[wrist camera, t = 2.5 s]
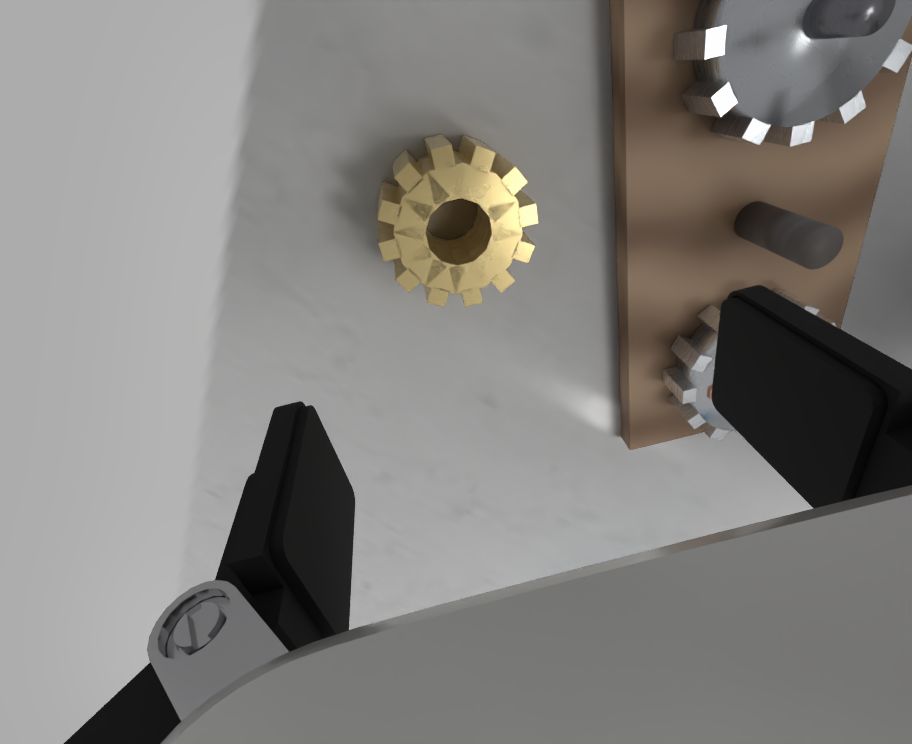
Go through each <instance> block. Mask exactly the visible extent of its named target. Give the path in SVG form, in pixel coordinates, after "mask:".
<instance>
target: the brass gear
mask: <svg viewBox="0 0 912 744" xmlns="http://www.w3.org/2000/svg"><path fill="white" fill-rule="evenodd" d="M424 140H425V145H426V149H427V154H428V156H425V157H421V158H420V159H419V160H418V161H417V162H416V161H415V159H414V158H413V157H412V156H411V155H410V154H409V153H408V152H407V150H406V149H405V150H404V151H403V152H402V153H401V154H400V155H399V157H398V158H397V159H396V160H395V161H394V162H393V172H394V179H395V180H396V181H397V182H398V183H399V184H398V186H395V185H392V184H388V183H385V182H382V186H381V190H380V194H379V199H378V219H377V220H379V234H378V244H379V247H380V251H381V254H382V257H383V261H384V262H385V261H389V260H393V259H394V263H395V280H396V281H397V282H398V283H399V284H400V285H401V286H402V287H403V288H404V289H405V290H406V291H407V292H410V291H411V290H412V289H413V288H414V287H416V286H417V285H418V284H419V283H420V282H421V283H422V284H424V288H425V293H426V299H427V303H431V304H435V305H439V306H443V307H445V304H446V301H447V298H448V295H449V292H450V293H453V294H458V293H461V296H462V299H463V302H464V305H465V307H467V306H471V305H475V304H479V303H483V302H482V297H481V291H480V288H482V287H486V286H487V285H488V284H490V283H491V282H492V283H493V284H494V285H495V286H496V288H497V289H498V290H499V291H500V292H501V293H502V292H503V291H504V290H505V289H506V288H508V287H509V286H510V285H511V284H512V283H513V282H514V281H515V279H514V278H513V276H512V275H511V273H510V271H509V270H508V267H509V266H510V265H511V263H512V260H513V259H516V260H519V261H523V262H526V263H528V262H529V259H530V257H531V255H532V252H533V250H534V247H535V245H534V243H533V242H532V241H531V240H530V239H529V238H528V236H527V235H526V234H525V233H524V232H523V231H522V227H525V226H529V225H533V224H537V223H538V216H537V207H536V203H535V202H534V201H532V200H531V199H530V198H529V197H528V196H527V195H526V194H525V193H523V192H522V191H521V190H520V189H521V188H522V187H523V186H524V185H525V184H526V183H527V181H526V180H525V178H524V177H523V176H522V174H521V173H520V172H519V171H518V169H517V168H516V167H515V166H514V165H513V164H511V163H510V162H509V161H507V160H506V159H505V158H503V157H502V156H501V155H499V154H498V153H496V152H495V151H493V150H492V149H491V148H489V147H488V146H487V145H485V144H484V143H483V142H481V141H479V140H477V139H474V138H471V137H468V136H465V135H463V137H462V140H461V144H460V147H459V150H458V152H457V151H454V150H453V149H452V144H451V143H450V142H449V141H448V140H447V139H446V138H445V137H444V136H443V134H439V135H435V136H431V137H427V138H424ZM459 198H463V199H466V200H469V201H472V202H475V203H476V204H477V209H478V214H477V217H476V220H475V223H474V226H473V227H472V228H471V229H470V230H469V231H468V232H467V233H466V234H465V235H464V236H463V237H460V238H456V239H452V240H444V239H441V238H437V237H434V236H433V235H432V234H431V233H430V232H429V231H428V230H427V229H426V228H427V225H428V222H429V218H430V215H431V214H432V213H433V212H434V211H435V210H436V209H437V208H438V207H439V206H440V205H441V204H442V203H443V202H447V201H451V200H455V199H459Z"/></svg>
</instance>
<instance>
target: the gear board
mask: <svg viewBox="0 0 912 744" xmlns="http://www.w3.org/2000/svg"><path fill="white" fill-rule="evenodd" d="M699 2H700V0H610V21H611V59H612V97H613V135H614V174H615V212H616V250H617V288H618V327H619V365H620V403H621V437H622V439H623V440H624V442H625V443H626V445H627V446H628V448H629V449H630V450H633V449H637V448H641V447H645V446H649V445H653V444H657V443H661V442H666V441H670V440H674V439H678V438H682V437H686V436H690V435H694V434H698V433H702V432H704V431H703V430H702V429H701V428H700V426H699V427H698V428H696V429H694V428H693V427H692V426H691V425H690V424H689V422H688V421H687V420H686V419H685V418H684V417H683V416H682V414H681V413H680V412H679V411H678V410H677V409H676V407H675V406H674V405H673V404H672V403H671V401H670V400H669V399H668V398H669V397H670V396H672V395H673V393H672V392H671V391H670V389H669V388H668V387H667V386H666V385H665V384H664V383H663V369H667V368H671V367H675V366H676V363H677V360H678V356H677V355H676V354H675V353H674V352H673V351H672V350H671V349H670V348H671V346H672V344H673V343H674V341H675V339H676V338H677V336H678V335H681V336H685V337H688V338H690V336H691V335H692V334H693V333H694V332H695V331H696V330H697V329H698V328H699V327H700V326H701V325H702V323H701V321H700V320H699V318H698V317H697V314H699V313H700V312H702V311H703V310H704V309H706V308H707V307H708V306H710V305H713V306H714V307H715V308H717V309H718V310H720V309H721V304H722V302H723V301H724V300H726V299H727V297H728V295H729V294H730V293H731V292H732V291H736V290H740V289H744V288H747V287H751V286H755V285H762V286H764V287H766V288H768V289H770V290H771V291H774V290H775V288H776V289H779V290H782V291H785V292H788V293H790V294H792V295H794V296H795V297H797V298H799V299H801V300H803V301H804V302H806V303H808V304H810V305H812V306H813V307H815V308H817V309H819V311H818V313H819V314H821V315H823V316H824V317H826V318H828V319H830V320H831V321H833V322H834V323H835V325H836V327H837V328H839V329H840V328H841V324H842V320H843V316H844V312H845V309H846V305H847V301H848V297H849V293H850V290H851V286H852V282H853V278H854V274H855V271H856V267H857V263H858V259H859V255H860V251H861V248H862V244H863V240H864V236H865V232H866V229H867V225H868V221H869V217H870V213H871V210H872V206H873V202H874V198H875V194H876V191H877V187H878V183H879V179H880V175H881V171H882V168H883V164H884V160H885V156H886V152H887V149H888V145H889V141H890V137H891V133H892V130H893V126H894V122H895V118H896V114H897V111H898V107H899V103H900V99H901V95H902V91H903V88H904V84H905V80H906V76H907V72H908V69H909V65H910V61H911V57H912V51H911V53H910V54H909V56H908V57H907V59H906V60H905V62H904V63H903V65H902V66H901V68H900V69H899V71H898V72H897V73H877V74H876V76H875V77H874V78H873V79H872V80H871V81H870V82H869V83H868V84H867V85H866V87H865V88H864V89H863V90H862V95H863V98H864V101H865V104H866V108H864V109H863V110H862V111H861V112H859V113H858V114H857V115H855V116H854V117H853V118H852V119H850V120H849V121H848V122H847V123H845V124H841V123H832V122H824V121H815V123H814V129H813V134H812V140H811V141H810V142H806V143H802V144H798V145H794V146H790V147H789V146H784V145H778V144H773V143H768V142H763V141H762V142H761V143H760V145H756V144H751V143H746V142H741V141H736V140H731V139H726V138H724V137H721V136H719V135H716V134H714V133H712V132H710V131H711V129H712V127H713V125H714V123H715V121H716V119H717V118H718V117H715V116H708V115H701V114H694V113H690V112H689V110H688V108H687V106H686V104H685V103H684V101H683V99H682V97H681V94H682V93H683V92H684V91H685V90H687V89H688V88H689V87H690V86H691V85H692V84H693V83H694V82H696V79H695V75H694V71H693V64H692V60H674V34H676V33H680V32H684V31H687V30H691V29H693V26H694V21H695V16H696V12H697V9H698V5H699ZM901 39H902V40H903V41H905V42H907V43H909V44H911V45H912V16H911V19H910V21H909V23H908V25H907V28H906V30H905V32H904V34H903V36H902V38H901Z"/></svg>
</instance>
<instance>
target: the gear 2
mask: <svg viewBox="0 0 912 744" xmlns="http://www.w3.org/2000/svg"><path fill="white" fill-rule="evenodd" d="M773 292H775V293H777V294H779V295H780V296H782V297H784V298H786V299H787V300H789V301H791V302H793V303H795V304H796V305H798V306H800V307H802V308H803V309H805V310H807V311H809V312H810V313H812V314H814V315H816V316H818V317H819V318H821V319H823V320H825V321H826V322H828V323H830V324H832V325H834V326H835V327H836V325H835V323H834V322H833V321H831V320H830V319H828V318H826V317H824V316H823V315H821V314H819V313H818V311H819V309H817V308H815V307H813V306H812V305H810V304H808V303H806V302H804V301H803V300H801V299H799V298H797V297H795V296H794V295H792V294H790V293H788V292H785V291H782V290H779V289H776V288H775V290H774V291H773ZM697 317H698V318H699V320H700V321H701V323H702V325H701V326H700V327H699V328H698V329H697V330H696V331H695V332H694V333H693V334H692V335H691V336H690V338H688V337H685V336H681V335H678V336H677V338H676V339H675V341H674V343H673V344H672V346H671V348H670V349H671V350H672V351H673V352H674V353H675V354H676V355H677V356H678V360H677V363H676V366H675V367H671V368H667V369H663V383H664V384H665V385H666V386H667V387H668V388H669V389H670V391H671V392H672V393H673V395H672V396H670V397H669V398H668V399H669V400H670V401H671V403H672V404H673V405H674V406H675V407H676V409H677V410H678V411H679V412H680V413H681V414H682V416H683V417H684V418H685V419H686V420H687V421H688V422H689V424H690V425H691V426H692V427H693V428H694V429H696V428H698V427H699V426H700V428H701V429H702V430H703V431H704V432H705V433H706V434H707V436H708V437H709V438H712V439H717V440H723V438H724V437H725V436H726V434H727V433H728V432H729V431H735V432H736V433H737V434H738V435H739V436H740V437H741V438H742V439H744V438H743V437H742V436H741V435H740V434H739V433H738V431H737V430H736V429H735V428H734V427H733V426H732V425H731V424H730V423H729V422H728V421H727V420H726V419H725V418H724V417H723V416H722V415H721V414H720V413H719V412H718V411H717V410H716V409H715V407H714V405H713V402H712V398H711V394H712V385H713V375H714V366H715V356H716V347H717V338H718V328H719V319H720V310H718V309H717V308H715V307H714V306H713V305H710V306H708V307H707V308H706V309H704V310H703V311H702V312H700V313H699V314H697Z"/></svg>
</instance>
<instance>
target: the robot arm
mask: <svg viewBox="0 0 912 744" xmlns="http://www.w3.org/2000/svg"><path fill="white" fill-rule="evenodd" d="M711 398H712V402H713V405H714V407H715V409H716V410H717V411H718V412H719V413H720V414H721V415H722V416H723V417H724V418H725V419H726V420H727V421H728V422H729V423H730V424H731V425H732V426H733V427H734V428H735V429H736V430H737V431H738V433H739V434H740V435H741V436H742V437H743V438H744V439H745V440H746V441H747V442H748V443H749V444H750V445H751V446H752V447H753V448H754V449H755V450H756V451H757V452H758V453H759V454H760V455H761V456H762V457H763V458H764V459H765V460H766V461H767V462H768V463H769V464H770V465H771V466H772V467H773V468H774V469H775V470H776V471H777V472H778V473H779V474H780V475H781V476H782V477H783V478H784V479H785V480H786V481H787V482H788V483H789V484H790V485H791V486H792V487H793V488H794V489H795V490H796V491H797V492H798V493H799V494H800V495H801V496H802V497H803V498H804V499H805V500H806V501H807V502H808V503H809V504H810V505H811V506H812V507H813V508H814V509H811V510H807V511H803V512H799V513H795V514H791V515H787V516H783V517H779V518H775V519H771V520H767V521H763V522H759V523H755V524H751V525H747V526H743V527H739V528H735V529H731V530H727V531H723V532H719V533H715V534H711V535H707V536H703V537H699V538H695V539H691V540H687V541H683V542H680V543H676V544H672V545H668V546H664V547H660V548H656V549H652V550H648V551H644V552H640V553H637V554H633V555H629V556H625V557H621V558H617V559H613V560H609V561H605V562H601V563H598V564H594V565H590V566H586V567H582V568H578V569H574V570H570V571H566V572H563V573H559V574H555V575H551V576H547V577H544V578H540V579H536V580H532V581H528V582H524V583H521V584H517V585H513V586H509V587H505V588H502V589H498V590H494V591H490V592H486V593H482V594H479V595H475V596H471V597H467V598H463V599H460V600H456V601H452V602H448V603H444V604H440V605H437V606H433V607H430V608H426V609H422V610H419V611H415V612H412V613H408V614H405V615H401V616H397V617H394V618H390V619H387V620H383V621H380V622H376V623H372V624H369V625H365V626H362V627H358V628H355V629H352V630H349V615H350V595H351V575H352V555H353V536H354V516H355V496H354V492H353V489H352V486H351V484H350V482H349V480H348V478H347V476H346V473H345V471H344V469H343V467H342V465H341V463H340V461H339V459H338V457H337V454H336V452H335V450H334V448H333V446H332V444H331V442H330V440H329V437H328V435H327V433H326V431H325V429H324V427H323V425H322V423H321V421H320V418H319V416H318V414H317V412H316V410H315V408H314V407H313V406H312V405H310V406H305V404H304V403H303V402H301V401H299V402H295V403H292V404H288V405H284V406H280V407H276V408H275V409H274V411H273V414H272V417H271V420H270V424H269V427H268V430H267V434H266V437H265V440H264V443H263V447H262V450H261V453H260V457H259V460H258V463H257V467H256V470H255V473H253V474H251V475H250V476H249V477H248V479H247V481H246V484H245V487H244V490H243V493H242V497H241V500H240V503H239V506H238V509H237V512H236V516H235V519H234V522H233V525H232V528H231V531H230V534H229V538H228V541H227V544H226V547H225V550H224V553H223V557H222V560H221V563H220V566H219V569H218V572H217V575H216V579H215V580H214V581H209V582H204V583H202V584H200V585H197V586H195V587H193V588H191V589H189V590H188V591H187V592H185V593H184V594H182V595H181V596H179V597H178V598H177V599H176V600H175V601H174V602H173V603H172V604H171V605H170V606H168V607H167V608H166V610H165V611H164V612H163V614H162V615H161V616H160V618H159V619H158V621H157V622H156V624H155V626H154V628H153V630H152V632H151V634H150V637H149V642H148V648H147V651H148V656H149V660H150V663H149V664H148V665H147V666H146V667H145V668H144V669H143V670H142V671H141V672H140V673H138V675H136V676H135V677H134V678H133V679H132V680H131V681H130V682H129V683H128V684H127V685H126V686H125V687H124V688H122V689H121V690H120V691H119V692H118V693H117V694H116V695H115V696H114V697H113V698H112V699H111V700H110V701H109V702H108V703H106V704H105V705H104V707H102V708H101V709H100V710H99V711H98V712H97V713H96V714H95V715H94V716H93V717H92V718H91V719H89V720H88V721H87V722H86V723H85V724H84V725H83V726H82V727H81V728H80V729H79V730H78V731H77V732H76V733H75V734H74V735H72V736H71V737H70V738H69V739H68V740H67V741H66V742H65V743H64V744H912V369H910V368H908V367H906V366H905V365H903V364H901V363H899V362H897V361H896V360H894V359H892V358H890V357H889V356H887V355H885V354H883V353H881V352H880V351H878V350H876V349H874V348H873V347H871V346H869V345H867V344H866V343H864V342H862V341H860V340H858V339H857V338H855V337H853V336H851V335H850V334H848V333H846V332H844V331H842V330H841V329H839V328H837V327H835V326H834V325H832V324H830V323H828V322H826V321H825V320H823V319H821V318H819V317H818V316H816V315H814V314H812V313H810V312H809V311H807V310H805V309H803V308H802V307H800V306H798V305H796V304H795V303H793V302H791V301H789V300H787V299H786V298H784V297H782V296H780V295H779V294H777V293H775V292H773V291H771V290H770V289H768V288H766V287H764V286H762V285H755V286H751V287H747V288H744V289H740V290H736V291H732V292H731V293H730V294H729V295H728V297H727V299H726V300H724V301H723V302H722V304H721V309H720V319H719V328H718V338H717V347H716V356H715V366H714V375H713V385H712V394H711Z"/></svg>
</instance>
